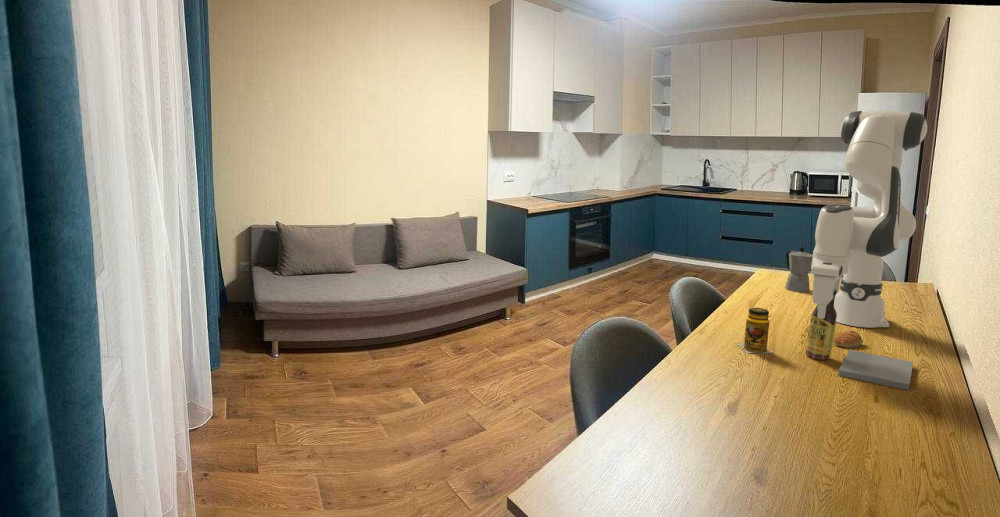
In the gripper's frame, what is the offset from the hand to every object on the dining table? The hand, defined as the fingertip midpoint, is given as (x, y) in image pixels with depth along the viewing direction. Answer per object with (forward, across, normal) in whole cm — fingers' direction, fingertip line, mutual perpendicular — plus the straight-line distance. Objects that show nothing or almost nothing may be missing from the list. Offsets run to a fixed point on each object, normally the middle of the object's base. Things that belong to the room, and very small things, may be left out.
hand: (824, 314), depth 162 cm
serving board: (+13, +2, +14) cm, 19 cm away
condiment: (+13, +3, -16) cm, 21 cm away
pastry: (+13, -20, +5) cm, 24 cm away
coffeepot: (+11, -89, -22) cm, 92 cm away
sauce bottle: (+13, 0, 0) cm, 13 cm away
